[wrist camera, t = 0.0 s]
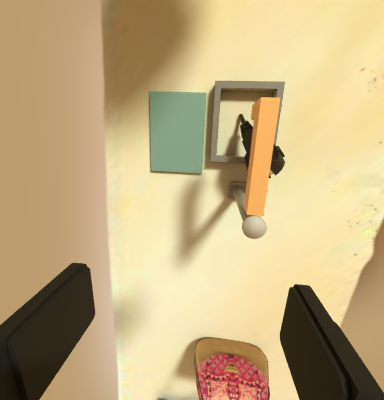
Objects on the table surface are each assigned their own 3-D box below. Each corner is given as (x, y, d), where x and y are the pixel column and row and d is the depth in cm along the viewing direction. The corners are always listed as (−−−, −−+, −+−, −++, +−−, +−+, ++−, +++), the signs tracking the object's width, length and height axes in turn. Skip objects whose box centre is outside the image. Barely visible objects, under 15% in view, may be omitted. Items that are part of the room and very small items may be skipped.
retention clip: (249, 104, 24) (258, 95, 19) (271, 105, 24) (287, 96, 19) (236, 220, 28) (241, 237, 23) (255, 222, 28) (264, 239, 23)
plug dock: (215, 84, 35) (216, 33, 19) (280, 85, 34) (345, 32, 18) (208, 195, 41) (204, 233, 24) (264, 199, 40) (300, 241, 23)
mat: (150, 92, 37) (149, 91, 36) (206, 93, 36) (206, 92, 35) (151, 170, 41) (151, 170, 40) (201, 172, 40) (201, 173, 39)
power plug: (253, 101, 34) (280, 149, 27) (269, 129, 39) (296, 175, 32) (224, 122, 37) (243, 171, 30) (244, 145, 42) (263, 191, 35)
